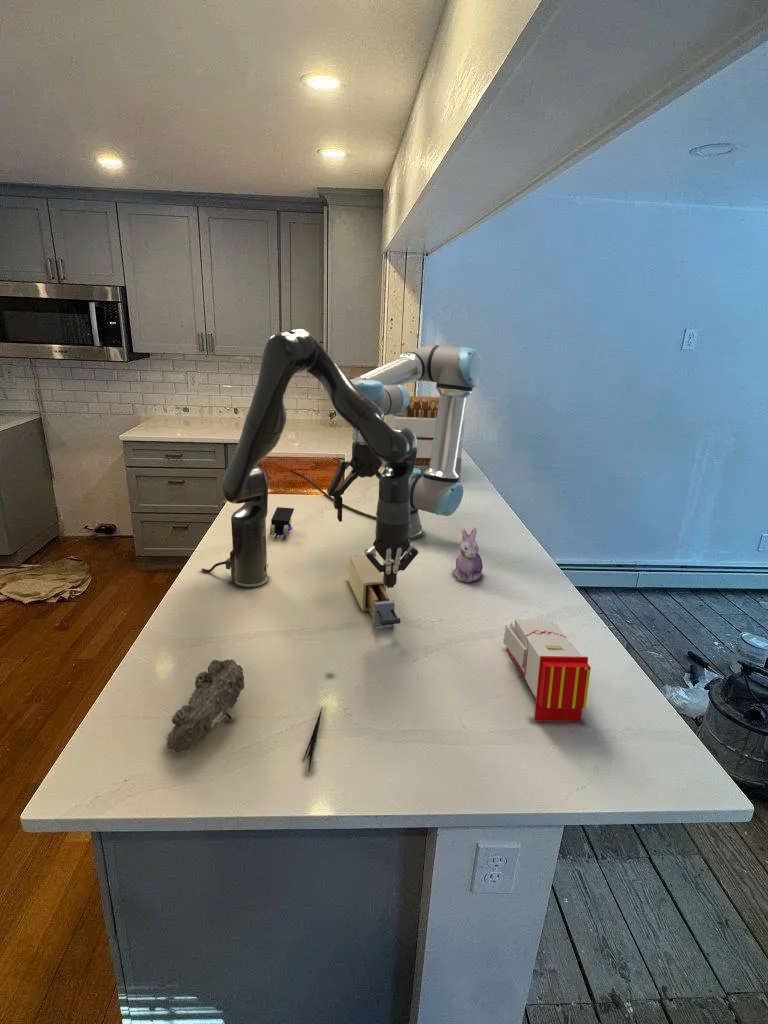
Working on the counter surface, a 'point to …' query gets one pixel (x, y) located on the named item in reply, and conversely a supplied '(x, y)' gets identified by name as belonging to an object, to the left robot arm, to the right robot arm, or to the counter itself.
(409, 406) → the grey slatted crate
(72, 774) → the counter surface
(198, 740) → the fossil
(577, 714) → the toy
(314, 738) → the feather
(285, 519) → the figurine character
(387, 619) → the drawer
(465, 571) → the figurine
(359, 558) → the cabinet
